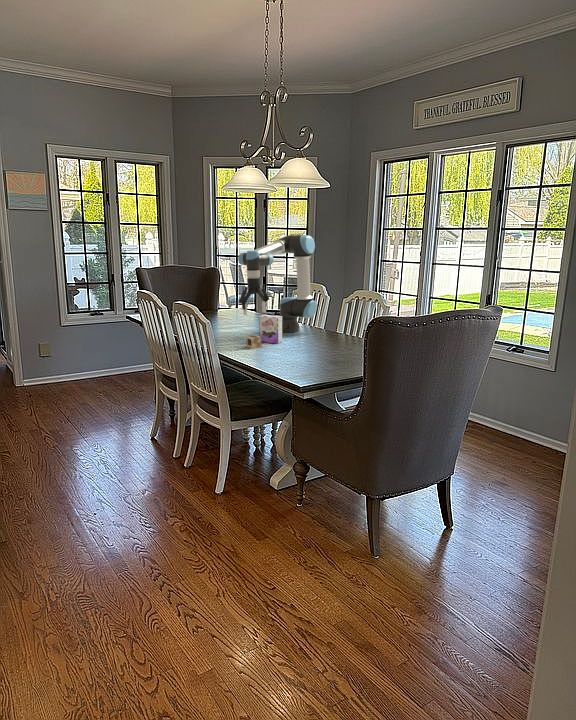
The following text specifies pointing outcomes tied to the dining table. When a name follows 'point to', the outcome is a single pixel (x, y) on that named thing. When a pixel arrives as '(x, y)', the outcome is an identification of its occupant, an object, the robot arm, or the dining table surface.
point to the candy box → (270, 329)
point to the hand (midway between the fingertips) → (254, 313)
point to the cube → (253, 341)
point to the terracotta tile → (253, 348)
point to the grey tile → (266, 344)
